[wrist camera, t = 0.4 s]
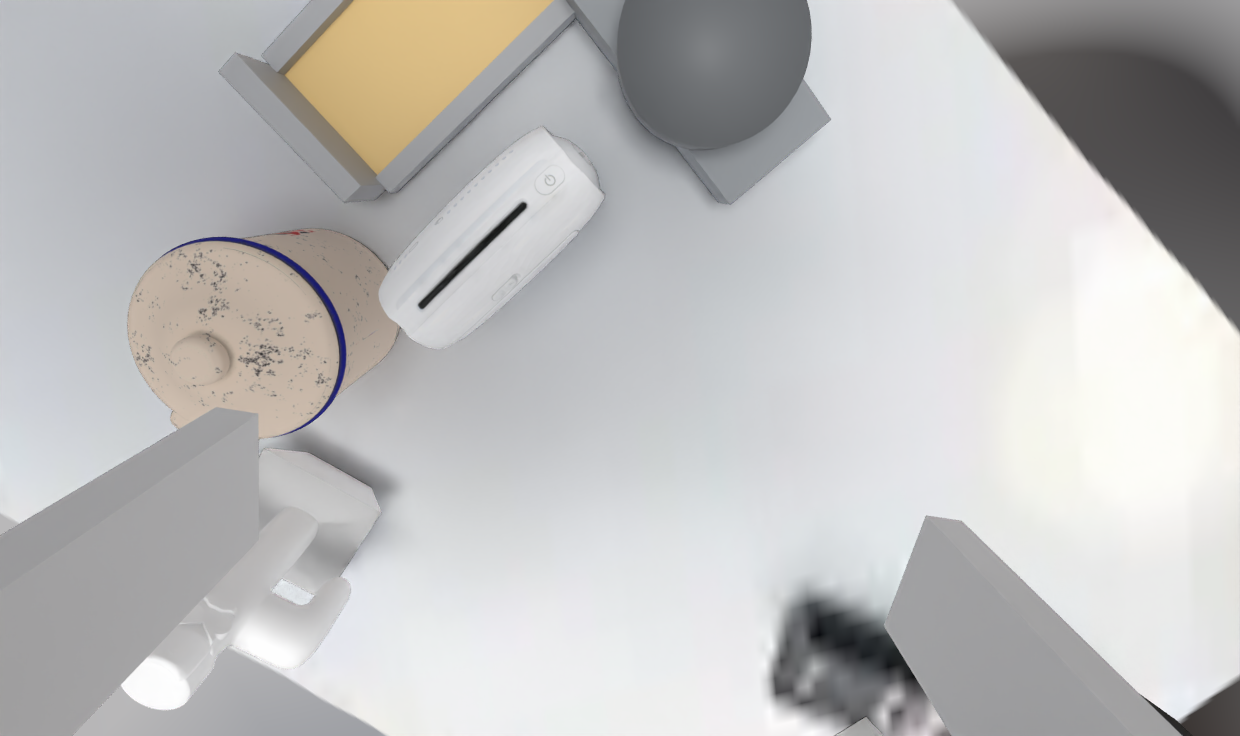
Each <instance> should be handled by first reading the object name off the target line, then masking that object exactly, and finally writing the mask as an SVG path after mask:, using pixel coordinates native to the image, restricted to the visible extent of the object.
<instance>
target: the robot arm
mask: <svg viewBox="0 0 1240 736" xmlns="http://www.w3.org/2000/svg"><path fill="white" fill-rule="evenodd" d="M258 540H259V429H258V413H251V412H245V411H238V410H231V409H225V408H218V407H215V408H214V409H212V410H210V411H208V412H207V413H205V414H203V415H202V416H200V417H198V418H197V419H195V420H193V421H192V422H190V423H188V424H187V425H185V426H183V427H182V428H180V429H178V430H177V431H175V432H173V433H171V434H170V435H168V436H166V437H165V438H163V439H161V440H160V441H158V442H156V443H155V444H153V445H151V446H150V447H148V448H146V449H145V450H143V451H141V452H139V453H138V454H136V455H134V456H133V457H131V458H129V459H128V460H126V461H124V462H123V463H121V464H119V465H118V466H116V467H114V468H113V469H111V470H109V471H108V472H106V473H104V474H102V475H101V476H99V477H97V478H96V479H94V480H92V481H91V482H89V483H87V484H86V485H84V486H82V487H81V488H79V489H77V490H76V491H74V492H72V493H71V494H69V495H67V496H65V497H64V498H62V499H60V500H59V501H57V502H55V503H54V504H52V505H50V506H49V507H47V508H45V509H44V510H42V511H40V512H39V513H37V514H35V515H33V516H32V517H30V518H28V519H27V520H25V521H23V522H22V523H20V524H18V525H17V526H15V527H14V528H12V529H10V530H8V531H7V532H5V533H3V534H2V535H0V736H73V735H74V733H75V732H76V731H77V730H78V729H79V728H80V727H81V726H82V725H83V724H84V723H85V722H86V721H87V720H88V719H89V718H90V717H91V716H92V715H93V714H94V712H95V711H96V710H97V709H98V708H99V707H100V706H101V705H102V704H103V703H104V702H105V701H106V700H107V699H108V698H109V696H111V695H112V693H114V691H115V690H116V689H117V688H118V687H119V686H120V685H121V684H122V683H123V682H124V681H125V680H126V679H127V678H128V677H129V676H130V675H131V674H132V673H133V672H134V670H135V669H136V668H137V667H138V666H139V665H140V664H141V663H142V662H143V661H144V660H145V659H146V658H147V657H148V656H149V655H150V654H151V653H152V652H153V651H154V649H155V648H156V647H157V646H158V645H159V644H160V643H161V642H162V641H163V640H164V639H165V638H166V637H167V636H168V635H169V634H170V633H171V632H172V631H173V630H174V628H175V627H176V626H177V625H178V624H179V623H180V622H181V621H182V620H183V619H184V618H185V617H186V616H187V615H188V614H189V613H190V612H191V611H192V610H193V609H194V607H195V606H196V605H197V604H198V603H199V602H200V601H201V600H202V599H203V598H204V597H205V596H206V595H207V594H208V593H209V592H210V591H211V590H212V589H213V588H214V586H215V585H216V584H217V583H218V582H219V581H220V580H221V579H222V578H223V577H224V576H225V575H226V574H227V573H228V572H229V571H230V570H231V569H232V568H233V567H234V565H235V564H236V563H237V562H238V561H239V560H240V559H241V558H242V557H243V556H244V555H245V554H246V553H247V552H248V551H249V550H250V549H251V548H252V547H253V546H254V544H255V543H256V542H257V541H258ZM884 627H885V628H886V630H887V632H888V633H889V635H890V636H891V638H892V640H893V641H894V643H895V645H896V646H897V648H898V649H899V651H900V653H901V654H902V656H903V658H904V659H905V661H906V662H907V664H908V666H909V667H910V669H911V671H912V672H913V674H914V675H915V677H916V679H917V680H918V682H919V684H920V685H921V687H922V688H923V690H924V692H925V693H926V695H927V697H928V698H929V700H930V701H931V703H932V705H933V706H934V708H935V710H936V711H937V713H938V714H939V716H940V718H941V719H942V721H943V723H944V724H945V726H946V727H947V729H948V731H949V732H950V734H951V736H1192V735H1191V734H1190V733H1189V732H1188V731H1187V730H1186V729H1185V728H1184V727H1183V726H1182V725H1181V724H1180V723H1179V722H1178V721H1177V720H1175V719H1174V718H1172V717H1171V716H1170V715H1168V714H1167V713H1165V712H1164V711H1163V710H1161V709H1160V708H1158V707H1157V706H1156V705H1154V704H1153V703H1152V702H1150V701H1149V700H1147V699H1146V698H1145V697H1143V696H1142V695H1140V694H1139V693H1138V692H1137V691H1136V690H1135V689H1134V688H1133V687H1132V686H1131V685H1130V684H1129V683H1128V682H1127V681H1126V680H1125V679H1124V678H1123V677H1122V676H1120V675H1119V674H1118V673H1117V672H1116V671H1115V670H1114V669H1113V668H1112V667H1111V666H1110V665H1109V664H1108V663H1107V662H1106V661H1105V660H1104V659H1103V658H1102V657H1101V656H1100V655H1099V654H1098V653H1097V652H1096V651H1095V650H1094V649H1093V648H1092V647H1091V646H1090V645H1089V644H1088V643H1087V642H1086V641H1085V640H1084V639H1082V638H1081V637H1080V636H1079V635H1078V634H1077V633H1076V632H1075V631H1074V630H1073V629H1072V628H1071V627H1070V626H1069V625H1068V624H1067V623H1066V622H1065V621H1064V620H1063V619H1062V618H1061V617H1060V616H1059V615H1058V614H1057V613H1056V612H1055V611H1054V610H1053V609H1052V608H1051V607H1050V606H1049V605H1048V604H1047V603H1046V602H1044V601H1043V600H1042V599H1041V598H1040V597H1039V596H1038V595H1037V594H1036V593H1035V592H1034V591H1033V590H1032V589H1031V588H1030V587H1029V586H1028V585H1027V584H1026V583H1025V582H1024V581H1023V580H1022V579H1021V578H1020V577H1019V576H1018V575H1017V574H1016V573H1015V572H1014V571H1013V570H1012V569H1011V568H1010V567H1009V566H1008V565H1006V564H1005V563H1004V562H1003V561H1002V560H1001V559H1000V558H999V557H998V556H997V555H996V554H995V553H994V552H993V551H992V550H991V549H990V548H989V547H988V546H987V545H986V544H985V543H984V542H983V541H982V540H981V539H980V538H979V537H978V536H977V535H976V534H975V533H974V532H973V531H972V530H971V529H970V528H968V527H967V526H966V525H965V524H964V523H963V522H962V521H959V520H952V519H946V518H939V517H933V516H926V517H925V520H924V522H923V525H922V527H921V530H920V533H919V535H918V538H917V541H916V543H915V546H914V548H913V551H912V554H911V556H910V559H909V561H908V564H907V567H906V569H905V572H904V575H903V577H902V580H901V582H900V585H899V588H898V590H897V593H896V596H895V598H894V601H893V603H892V606H891V609H890V611H889V614H888V616H887V619H886V622H885V624H884Z"/></svg>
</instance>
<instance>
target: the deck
mask: <svg viewBox="0 0 1240 736" xmlns="http://www.w3.org/2000/svg"><path fill="white" fill-rule="evenodd" d="M575 18H576V19H577V20H578V21H579V23H580V24H581V25H582V26H583V28H584V29H585V30H586V32H587V33H588V34H589V36H590V37H591V38H592V39H593V41H594V42H595V43H596V45H597V46H598V47H599V48H600V50H601V51H602V52H603V54H604V55H605V56H606V58H607V59H608V60H609V61H610V63H611V64H612V65H613V67H614V68H615V69H616V70H617V72H618V77H619V81H620V85H621V89H622V92H623V94H624V97H625V99H626V101H627V103H628V105H629V107H630V109H631V111H632V112H633V114H634V115H635V117H636V118H637V119H638V120H639V122H640V123H641V124H642V125H643V126H644V127H645V128H646V129H647V130H648V131H650V132H651V133H652V134H653V135H655V136H656V137H658V138H659V139H661V140H662V141H664V142H666V143H669V144H671V145H673V146H675V147H676V148H677V149H678V151H679V152H680V153H681V155H682V156H683V157H684V159H685V160H686V161H687V162H688V164H689V165H690V166H691V168H692V169H693V170H694V171H695V173H696V174H697V175H698V177H699V178H700V179H701V181H702V182H703V183H704V184H705V186H706V187H707V188H708V190H709V191H710V192H711V194H712V195H713V196H714V197H715V199H716V200H717V201H718V202H720V203H725V204H730V205H731V204H732V203H733V202H735V201H736V200H737V199H738V198H739V197H740V196H742V195H743V194H744V193H745V192H746V191H748V190H749V189H750V188H751V187H752V186H753V185H755V184H756V183H757V182H758V181H759V180H761V179H762V178H763V177H764V176H765V175H766V174H768V173H769V172H770V171H771V170H772V169H774V168H775V167H776V166H777V165H778V164H779V163H781V162H782V161H783V160H784V159H785V158H787V157H788V156H789V155H790V154H791V153H792V152H794V151H795V150H796V149H797V148H798V147H800V146H801V145H802V144H803V143H804V142H805V141H807V140H808V139H809V138H810V137H811V136H813V135H814V134H815V133H816V132H817V131H819V130H820V129H821V128H822V127H823V126H824V125H826V124H827V123H828V122H829V121H830V120H831V118H830V117H829V116H828V114H827V113H826V111H825V110H824V108H823V107H822V105H821V104H820V102H819V101H818V100H817V98H816V97H815V95H814V94H813V92H812V91H811V89H810V88H809V86H808V85H807V84H806V82H805V81H804V79H803V77H804V74H805V71H806V68H807V65H808V60H809V56H810V49H811V39H812V37H811V19H810V12H809V7H808V3H807V0H311V1H310V2H309V3H308V4H307V5H306V7H305V8H304V9H303V10H302V11H301V12H300V13H299V14H298V15H297V16H296V18H295V19H294V20H293V21H292V22H291V23H290V24H289V25H288V26H287V27H286V29H285V30H284V31H283V32H282V33H281V34H280V35H279V36H278V37H277V38H276V40H275V41H274V42H273V43H272V44H271V45H270V46H269V47H268V48H267V50H266V51H265V52H264V53H263V54H262V55H261V56H262V57H263V58H264V59H265V60H266V61H267V62H268V64H267V63H264V62H261V61H258V60H255V59H253V58H250V57H247V56H244V55H241V54H238V53H234V54H233V55H232V56H231V58H230V59H229V60H228V61H227V62H226V63H225V64H224V65H223V67H222V68H221V69H220V70H219V71H218V72H219V73H220V74H221V75H222V76H223V77H224V78H225V80H226V81H227V82H228V83H229V84H230V85H231V86H232V87H233V88H234V89H235V90H236V91H237V92H238V93H239V94H240V95H241V96H242V97H243V98H244V99H245V100H246V101H247V102H248V103H249V105H250V106H251V107H252V108H253V109H254V110H255V111H256V112H257V113H258V114H259V115H260V116H261V117H262V118H263V119H264V120H265V121H266V122H267V123H268V124H269V125H270V126H271V127H272V128H273V130H274V131H275V132H276V133H277V134H278V135H279V136H280V137H281V138H282V139H283V140H284V141H285V142H286V143H287V144H288V145H289V146H290V147H291V148H292V149H293V150H294V151H295V152H296V153H297V155H298V156H299V157H300V158H301V159H302V160H303V161H304V162H305V163H306V164H307V165H308V166H309V167H310V168H311V169H312V170H313V171H314V172H315V173H316V174H317V175H318V176H319V177H320V178H321V180H322V181H323V182H324V183H325V184H326V185H327V186H328V187H329V188H330V189H331V190H332V191H333V192H334V193H335V194H336V195H337V196H338V197H339V198H340V199H341V200H342V201H343V202H344V203H346V202H358V201H370V200H376V199H377V198H378V197H379V196H380V195H381V194H382V193H383V192H384V191H385V190H387V191H388V192H389V193H397V192H398V191H399V190H400V189H401V188H402V187H403V186H404V185H405V184H406V183H407V182H408V181H409V180H410V179H411V178H412V177H413V176H414V175H415V174H416V173H418V172H419V171H420V170H421V169H422V168H423V167H424V166H425V165H426V164H427V163H428V162H429V161H430V160H431V159H432V158H433V157H434V156H435V155H436V154H437V153H438V152H439V151H440V150H441V149H442V148H443V147H444V146H445V145H446V144H447V143H448V142H449V141H450V140H451V139H452V138H453V137H454V136H455V135H456V134H458V133H459V132H460V131H461V130H462V129H463V128H464V127H465V126H466V125H467V124H468V123H469V122H470V121H471V120H472V119H473V118H474V117H475V116H476V115H477V114H478V113H479V112H480V111H481V110H482V109H483V108H484V107H485V106H486V105H487V104H488V103H489V102H490V101H491V100H492V99H493V98H494V97H495V96H496V95H497V94H499V93H500V92H501V91H502V90H503V89H504V88H505V87H506V86H507V85H508V84H509V83H510V82H511V81H512V80H513V79H514V78H515V77H516V76H517V75H518V74H519V73H520V72H521V71H522V70H523V69H524V68H525V67H526V66H527V65H528V64H529V63H530V62H531V61H532V60H533V59H534V58H535V57H536V56H537V55H539V54H540V53H541V52H542V51H543V50H544V49H545V48H546V47H547V46H548V45H549V44H550V43H551V42H552V41H553V40H554V39H555V38H556V37H557V36H558V35H559V34H560V33H561V32H562V31H563V30H564V29H565V28H566V27H567V26H568V25H569V24H570V23H571V22H572V21H573V20H574V19H575Z"/></svg>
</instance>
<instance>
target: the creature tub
mask: <svg viewBox="0 0 1240 736" xmlns="http://www.w3.org/2000/svg"><path fill="white" fill-rule="evenodd" d="M836 736H884V735H883V734H882V733H881V732H880V731H879V730H878V729H877V728H876V727H875V726H874V725H873V724H872V723H871V722H870V721H869V719H868V718H867V717H865V718H863V719H862V720H860V721H858V722H857V723H855V724H853V725H852V726H850V727H849V728H847V729H845V730H844V731H842V732H840V733H839V734H837V735H836Z"/></svg>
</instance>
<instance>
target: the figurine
mask: <svg viewBox="0 0 1240 736" xmlns="http://www.w3.org/2000/svg"><path fill="white" fill-rule="evenodd" d="M380 514H381V510H380V508H379V505H378V503H377V500H376V498H375V495H374V493H373V491H372V488H371V487H369V486H368V485H366V484H364V483H362V482H361V481H359V480H357V479H355V478H353V477H352V476H350V475H348V474H346V473H344V472H343V471H341V470H339V469H337V468H335V467H334V466H332V465H330V464H328V463H327V462H325V461H323V460H321V459H319V458H318V457H316V456H314V455H312V454H310V453H309V452H300V451H290V450H280V449H270V448H264V449H263V450H262V452H261V454H260V456H259V540H258V541H257V542H256V543H255V544H254V546H253V547H252V548H251V549H250V550H249V551H248V552H247V553H246V554H245V555H244V556H243V557H242V558H241V559H240V560H239V561H238V562H237V563H236V564H235V565H234V567H233V568H232V569H231V570H230V571H229V572H228V573H227V574H226V575H225V576H224V577H223V578H222V579H221V580H220V581H219V582H218V583H217V584H216V585H215V586H214V588H213V589H212V590H211V591H210V592H209V593H208V594H207V595H206V596H205V597H204V598H203V599H202V600H201V601H200V602H199V603H198V604H197V605H196V606H195V607H194V609H193V610H192V611H191V612H190V613H189V614H188V615H187V616H186V617H185V618H184V619H183V620H182V621H181V622H180V623H179V624H178V625H177V626H176V627H175V628H174V630H173V631H172V632H171V633H170V634H169V635H168V636H167V637H166V638H165V639H164V640H163V641H162V642H161V643H160V644H159V645H158V646H157V647H156V648H155V649H154V651H153V652H152V653H151V654H150V655H149V656H148V657H147V658H146V659H145V660H144V661H143V662H142V663H141V664H140V665H139V666H138V667H137V668H136V669H135V670H134V672H133V673H132V674H131V675H130V676H129V677H128V678H127V679H126V680H125V681H124V682H123V683H122V684H121V686H122V688H123V690H124V691H125V692H126V693H127V694H128V695H129V696H130V697H131V698H132V699H134V700H135V701H136V702H138V703H140V704H142V705H144V706H147V707H149V708H153V709H158V710H172V709H176V708H179V707H181V706H182V705H184V704H185V703H186V702H187V701H188V700H189V698H190V697H191V696H192V695H193V693H194V692H195V691H196V690H197V689H198V687H199V686H200V685H201V684H202V682H203V681H204V680H205V679H206V677H207V676H208V675H209V674H210V672H211V671H212V670H213V668H214V665H215V659H216V658H217V657H218V655H219V654H220V653H221V652H222V650H223V649H225V648H227V647H229V646H233V647H236V648H238V649H240V650H242V651H244V652H246V653H248V654H250V655H252V656H254V657H256V658H258V659H260V660H263V661H265V662H267V663H269V664H271V665H273V666H275V667H278V668H281V669H294V668H297V667H299V666H301V665H302V664H304V663H305V662H306V661H307V660H308V659H309V658H310V657H311V656H312V655H313V654H314V652H315V651H316V650H317V649H318V647H319V646H320V645H321V643H322V642H323V640H324V639H325V637H326V635H327V634H328V632H329V631H330V629H331V627H332V626H333V624H334V623H335V621H336V619H337V618H338V616H339V615H340V613H341V611H342V610H343V608H344V607H345V605H346V603H347V601H348V599H349V597H350V593H351V586H350V583H349V582H348V581H347V580H346V579H345V578H342V577H340V576H341V575H342V573H343V571H344V570H345V568H346V567H347V565H348V564H349V562H350V561H351V559H352V558H353V556H354V555H355V553H356V551H357V550H358V548H359V547H360V545H361V544H362V542H363V541H364V539H365V538H366V536H367V534H368V533H369V531H370V530H371V528H372V527H373V525H374V524H375V522H376V521H377V519H378V518H379V516H380ZM281 579H283V580H285V581H287V582H289V583H291V584H293V585H295V586H297V587H299V588H301V589H303V590H305V591H307V592H309V593H311V594H313V595H314V597H313V598H312V600H311V601H310V602H309V603H308V604H305V605H297V604H295V603H293V602H291V601H289V600H287V599H285V598H283V597H281V596H279V595H277V594H275V593H273V592H272V590H273V589H274V587H275V586H276V585H277V584H278V583H279V581H280V580H281Z"/></svg>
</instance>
